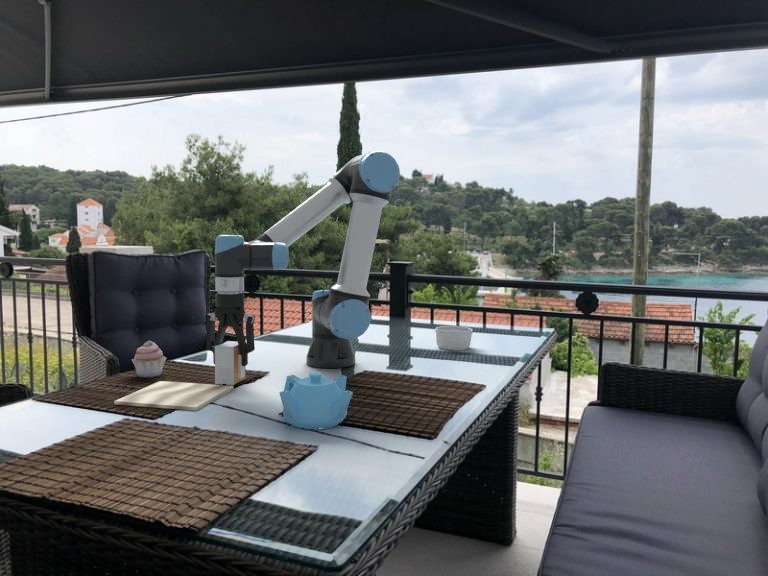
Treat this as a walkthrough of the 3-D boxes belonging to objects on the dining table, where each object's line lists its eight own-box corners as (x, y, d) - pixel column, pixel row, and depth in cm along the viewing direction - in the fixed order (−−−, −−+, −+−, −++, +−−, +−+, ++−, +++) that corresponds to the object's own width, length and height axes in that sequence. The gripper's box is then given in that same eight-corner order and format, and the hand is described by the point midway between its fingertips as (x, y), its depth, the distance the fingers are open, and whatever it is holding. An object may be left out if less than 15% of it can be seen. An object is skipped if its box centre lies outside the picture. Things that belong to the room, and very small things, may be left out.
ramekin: (471, 345, 231) (472, 326, 231) (472, 352, 218) (473, 332, 218) (435, 343, 233) (435, 325, 232) (434, 350, 220) (434, 331, 219)
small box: (233, 385, 168) (233, 346, 167) (214, 384, 169) (213, 345, 168) (246, 378, 176) (246, 341, 175) (227, 377, 177) (227, 340, 176)
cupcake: (129, 380, 173) (128, 344, 172) (133, 372, 182) (132, 338, 181) (165, 378, 175) (165, 342, 174) (168, 370, 184) (167, 337, 183)
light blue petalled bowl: (349, 410, 148) (349, 365, 147) (353, 431, 133) (353, 381, 132) (283, 411, 146) (282, 366, 145) (279, 433, 131) (279, 382, 130)
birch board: (233, 388, 165) (233, 385, 165) (196, 410, 146) (196, 407, 146) (160, 383, 169) (160, 380, 169) (114, 404, 150) (114, 401, 150)
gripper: (191, 292, 168) (192, 378, 171) (257, 295, 165) (257, 382, 167) (204, 289, 176) (205, 371, 178) (267, 292, 172) (268, 375, 174)
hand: (230, 376), depth 173 cm, fingers closed on small box, 6 cm apart
